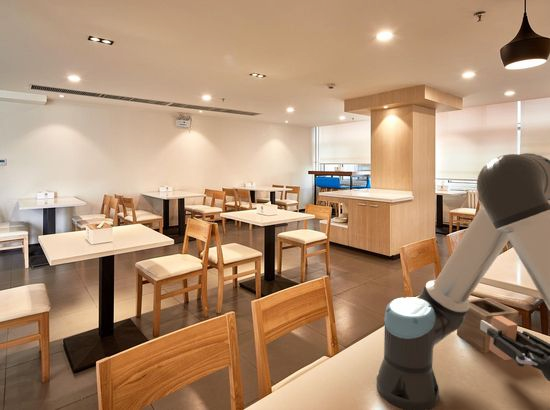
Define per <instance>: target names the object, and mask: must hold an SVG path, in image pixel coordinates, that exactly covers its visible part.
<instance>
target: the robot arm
mask: <svg viewBox="0 0 550 410" xmlns="http://www.w3.org/2000/svg"><path fill="white" fill-rule="evenodd" d="M476 189H477V190H476V191H477V194H478V198H477V202H478V204H479V207H480V208H479V210H478V211H477V213H476V215H475V216H474V218H473V219H472V221H471V222H470V224H469V226H468V227H467V229H466V231H465V232H464V233H463V235H462V237H461V239H460V240H459V242H458V243H457V245H456V247H455V249H454V250H453V251H452V253H451V254H450V256H449V258H448V259H447V261H446V263H445V264H444V266H443V267H442V269H441V271H440V272H439V274H438V275H437V277H436V279H431V280H428V281H427V282H426V284H425V285H424V287H423V288H422V290H421V291H420V294H419V295H418V296H417V297H413V296H405V297H403V296H402V297H398V298H395V299H392V300H391V301H390V302H389V303H388V304H387V305H386V307H385V313H384V318H383V323H384V341H383V343H384V344H383V345H384V347H383V349H384V350H383V360H382V361H381V364H380V367H379V369H378V371H377V373H376V374H377V375H376V383H375V384H376V389H377V391H378V394H380V396H381V397H382V398H383V399H384V400H386V401H387V402H388V403H390V404H392V405H393V406H396V407H398V408H400V409H404V410H431V409H432V408H434V407H435V406H436V405H438V403H439V396H440V387H439V385H438V381H437V377H436V375H435V371H434V369H433V361H434V356H433V355H434V348H435V346H436V345H437V344H438V343H439V342H441V341H443V340H444V339H445V338H447V337H448V336H449V335H450V334H451V333H453V332H455V331H457V329H458V328H459V327H460V326H461V325H462V323H463V321H464V319H465V315H466V312H467V311H468V310H469V307H470V304H469V301H468V300H469V298H470V296H472V294H473V292H474V291H475V289H476V288H477V287H478V285H479V283H480V282H481V281H482V279H483V278H484V277H485V275H486V273H487V272H488V271H489V270H490V267H492V265H493V263H494V262H495V260H496V259H497V258H498V256H499V255H500V254H501V252H502V250H503V249H504V248H505V246H506V245H507V244H508V242H510V245H511V246H512V248H513V249H514V251H515V253H516V255H517V257H518V259H520V262H521V264H522V266H523V267H524V269H525V270H526V272H527V274H528V276H529V277H530V279H531V281H532V283H533V285H534V287H535V288H536V289H537V291H538V293H539V295H540V297H541V299H542V300H543V302H544V303H545V305H546V307H547V309H548V311H549V312H550V202H549V201H550V159H549V158H546V157H545V156H542V155H539V154H535V153H526V152H525V153H520V154H517V153H516V154H514V153H512V154H510V153H509V154H503V155H500V156H497V157H495V158H493V159H490V161H489V162H487V163H486V164H485V165H484V166H483V167H482V168H481V170H480V172H479V174H478V176H477V179H476ZM480 329H481V330H482V331H484V332H485V333H487V334H488V335H489V336H491V337H492V338H494V339H493V345H495V346H496V347H497V348H499V349H500V350H501V351H503V352H504V353H505V354H507V355H508V356H509V357H511V358H512V359H511V360H513V361H514V362H515V363H516V364H517V365H518V367H521V368H522V367H523V368H524V366H525V365H530V366H531V367H532V368H534V369H537V370H539V371H541V372H542V374H543V376H544V378H545V379H546V380H547V381H548V382H550V343H549V342H548V341H545V340H543V339H542V338H540V337H538V336H536V335H533V334H531V333H530V332H528V331H526V330H523V331H519V330H517V334H516V341H515V340H513V339H511V338H509V337H507V336H505V335H503V334H502V331H500V330H498V329H497V328H495V327H494V326H492V322H491V325H490V324H489V323H487V322H485V321H484V320H481V324H480Z"/></svg>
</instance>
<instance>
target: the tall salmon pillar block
mask: <svg viewBox="0 0 550 410" xmlns="http://www.w3.org/2000/svg"><path fill="white" fill-rule="evenodd" d="M492 326H494V327H495V328H497V329H498V330H500V331H502V334H503V335H505V336H507V337H509V338H511V339H513V340H515V341H516V334H517V331H518V325H517V324H516V323H514V322H512V321H510V320H508V319H507V318H505V317H503V316H494V317H492ZM493 339H494V338H492V337H491V336H490V345H489V350H490V351H492V352H491V353H493V354H494V355H496V356H497V357H499V358H501V359H502V360H503V361H507V360H513V359H512V358H511V357H509V356H508V355H507V354H505V353H504V352H503V351H501V350H500V349H499V348H497V347H496V346H495V345H493Z"/></svg>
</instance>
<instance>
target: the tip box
mask: <svg viewBox="0 0 550 410" xmlns="http://www.w3.org/2000/svg"><path fill="white" fill-rule="evenodd" d="M468 301H469V304H470V307H469V310H468V311H467V312H466V315H465V319H464V321H463V323H462V325H461V326H460V327H459V328H458V329H457V330H456V335H457V336H458V337H459V338H461V339H462V340H463V341H465V342H466V343H468V344H469V345H471V346H472V347H474V348H475V349H476V350H478V351H479V352H481V353H493V352H492V351H490V350H489V345H490V336H489V335H488V334H487V333H485V332H484V331H482V330H481V329H480V324H481V320H484V321H485V322H487V323H489V324H490V325H491V322H492V317H494V316H503V317H505V318H507V319H508V320H510V321H512V322H514V323H516V324H517V326H518V322H519V311H517V310H515V309H513V308H512V307H509V306H507V305H505V304H503V303H501V302H500V301H497V300H495V299H492V297H491V298H490V297H486V298H485V297H484V298H476V299H474V298H473V299H468Z"/></svg>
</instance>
